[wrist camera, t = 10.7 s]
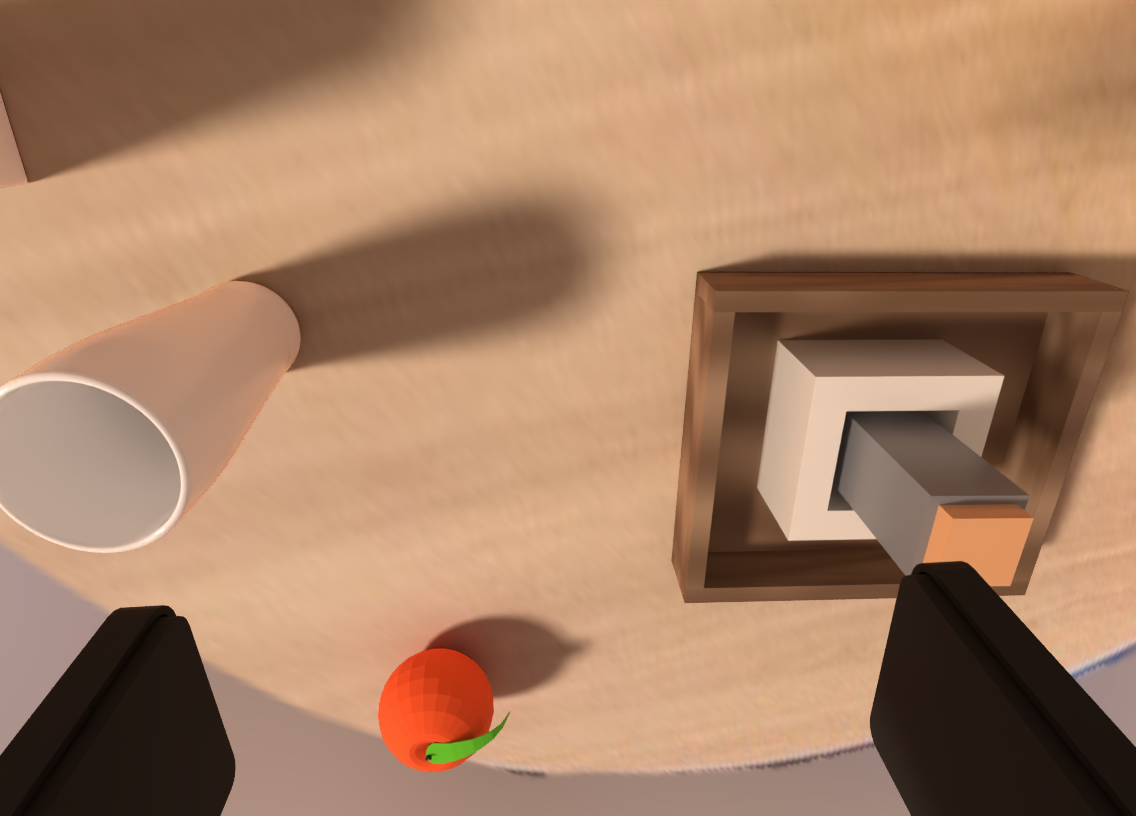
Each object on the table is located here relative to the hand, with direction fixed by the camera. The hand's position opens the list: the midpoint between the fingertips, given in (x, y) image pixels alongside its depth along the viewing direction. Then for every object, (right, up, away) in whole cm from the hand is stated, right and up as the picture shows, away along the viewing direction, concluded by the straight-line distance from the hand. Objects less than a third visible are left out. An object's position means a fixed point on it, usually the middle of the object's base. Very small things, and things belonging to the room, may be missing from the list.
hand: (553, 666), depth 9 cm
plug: (+16, +2, +28) cm, 32 cm away
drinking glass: (-16, +8, +27) cm, 32 cm away
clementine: (-8, -13, +37) cm, 40 cm away
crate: (+17, +2, +31) cm, 35 cm away
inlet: (+16, +3, +30) cm, 34 cm away
